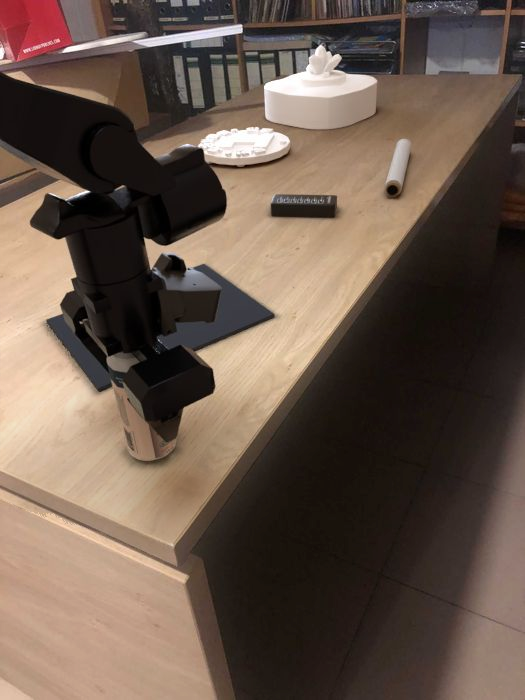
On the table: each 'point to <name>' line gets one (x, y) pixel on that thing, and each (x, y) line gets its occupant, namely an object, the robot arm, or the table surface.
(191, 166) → the robot arm
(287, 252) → the table surface
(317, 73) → the white crystal-topped box
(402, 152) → the tube
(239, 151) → the embossed medallion
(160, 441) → the beer can
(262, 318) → the desk mat
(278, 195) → the multiport hub
